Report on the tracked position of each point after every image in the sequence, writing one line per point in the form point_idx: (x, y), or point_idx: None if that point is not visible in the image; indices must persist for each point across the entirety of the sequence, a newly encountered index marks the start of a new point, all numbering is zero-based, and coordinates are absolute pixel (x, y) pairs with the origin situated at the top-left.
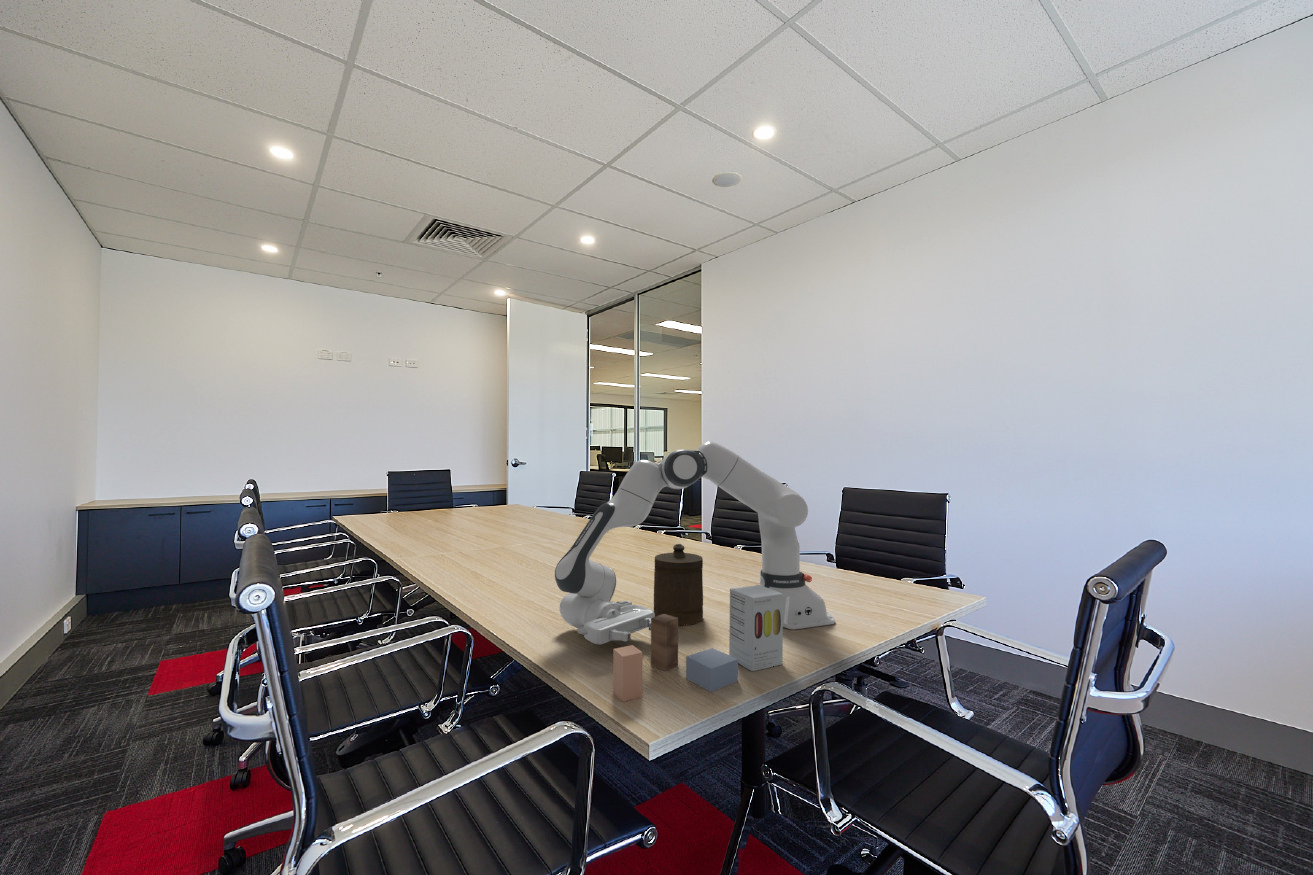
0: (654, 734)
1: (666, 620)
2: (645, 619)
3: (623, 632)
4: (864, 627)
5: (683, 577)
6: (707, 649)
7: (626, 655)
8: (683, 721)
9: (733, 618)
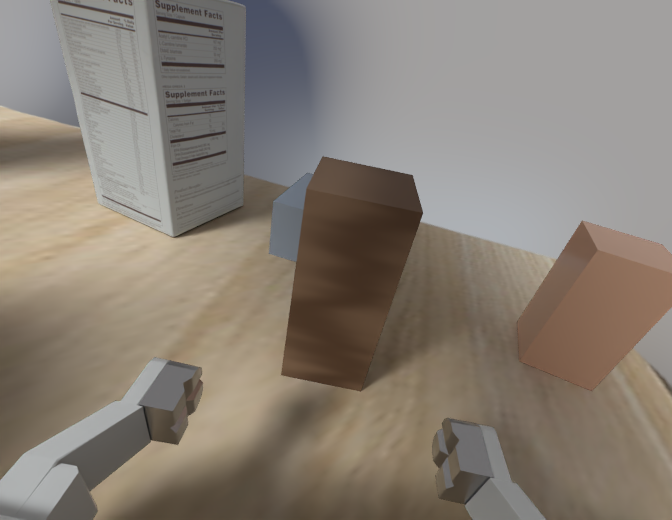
0: None
1: (387, 175)
2: (69, 491)
3: (492, 465)
4: None
5: None
6: (291, 206)
7: (645, 241)
8: (492, 247)
9: (182, 106)
